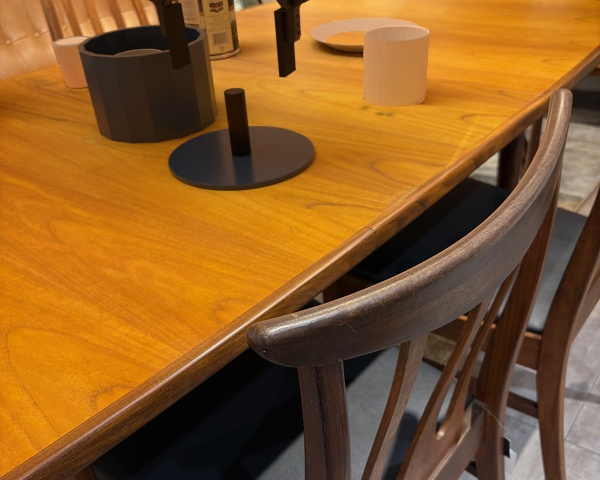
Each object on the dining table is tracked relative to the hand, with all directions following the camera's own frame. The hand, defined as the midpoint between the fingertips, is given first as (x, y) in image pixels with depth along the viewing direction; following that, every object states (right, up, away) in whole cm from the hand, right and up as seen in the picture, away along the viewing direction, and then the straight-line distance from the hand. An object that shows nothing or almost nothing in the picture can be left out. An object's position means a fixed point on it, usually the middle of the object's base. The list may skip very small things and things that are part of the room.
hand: (233, 70), depth 69 cm
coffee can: (-9, +21, +48) cm, 54 cm away
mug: (+22, +4, +23) cm, 32 cm away
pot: (-13, -1, +19) cm, 23 cm away
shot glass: (-30, +12, +37) cm, 49 cm away
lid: (0, -8, +6) cm, 10 cm away
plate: (+20, +23, +48) cm, 57 cm away
